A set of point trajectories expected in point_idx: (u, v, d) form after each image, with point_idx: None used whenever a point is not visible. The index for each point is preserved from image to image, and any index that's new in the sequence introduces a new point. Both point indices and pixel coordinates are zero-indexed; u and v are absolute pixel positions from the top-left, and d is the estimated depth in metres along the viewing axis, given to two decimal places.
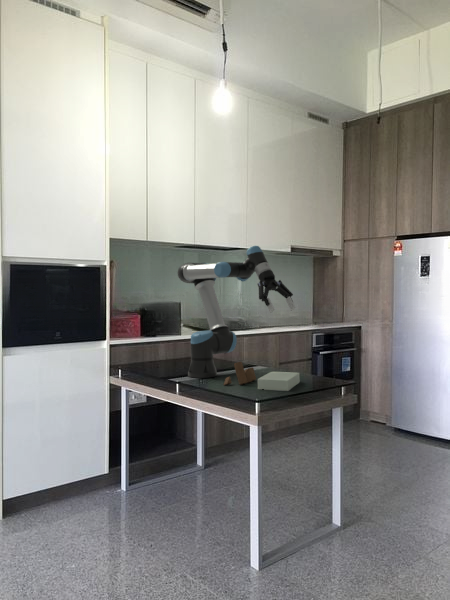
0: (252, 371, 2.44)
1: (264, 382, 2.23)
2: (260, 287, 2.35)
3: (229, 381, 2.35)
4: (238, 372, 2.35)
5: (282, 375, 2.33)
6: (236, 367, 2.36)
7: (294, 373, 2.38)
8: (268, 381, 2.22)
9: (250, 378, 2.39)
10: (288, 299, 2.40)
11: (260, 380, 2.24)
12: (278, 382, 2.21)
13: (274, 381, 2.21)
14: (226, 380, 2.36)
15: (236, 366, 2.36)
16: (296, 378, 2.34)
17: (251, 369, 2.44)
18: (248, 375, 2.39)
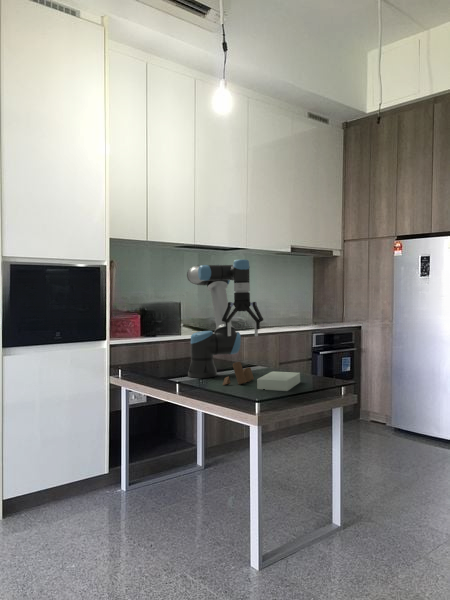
0: (250, 371, 2.45)
1: (263, 382, 2.23)
2: None
3: (228, 381, 2.35)
4: (237, 372, 2.36)
5: (282, 375, 2.32)
6: (235, 367, 2.36)
7: (294, 373, 2.37)
8: (267, 381, 2.22)
9: (248, 378, 2.40)
10: None
11: (260, 380, 2.24)
12: (278, 382, 2.21)
13: (273, 381, 2.21)
14: (225, 380, 2.36)
15: (235, 366, 2.36)
16: (296, 378, 2.33)
17: (249, 369, 2.45)
18: (246, 375, 2.40)
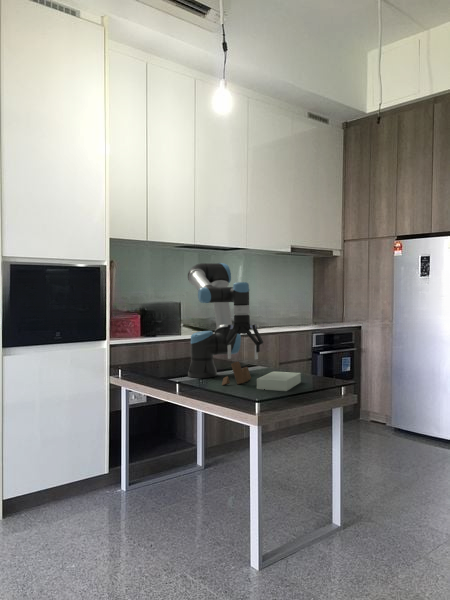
0: (247, 370, 2.46)
1: (263, 382, 2.23)
2: None
3: (228, 381, 2.35)
4: (236, 372, 2.36)
5: (282, 375, 2.32)
6: (234, 367, 2.37)
7: (295, 373, 2.37)
8: (267, 381, 2.23)
9: (247, 377, 2.41)
10: None
11: (259, 380, 2.24)
12: (277, 382, 2.21)
13: (273, 381, 2.21)
14: (224, 380, 2.36)
15: (234, 366, 2.37)
16: (296, 378, 2.33)
17: (246, 369, 2.46)
18: (245, 374, 2.41)
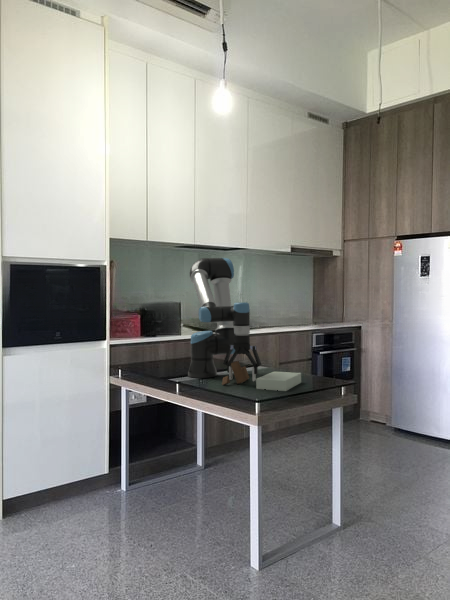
0: (245, 370, 2.47)
1: (262, 382, 2.24)
2: None
3: (228, 380, 2.35)
4: (236, 371, 2.36)
5: (282, 375, 2.32)
6: (234, 366, 2.37)
7: (295, 373, 2.37)
8: (266, 381, 2.23)
9: (246, 377, 2.42)
10: None
11: (259, 380, 2.24)
12: (276, 382, 2.21)
13: (272, 381, 2.22)
14: (224, 380, 2.36)
15: (234, 365, 2.37)
16: (296, 378, 2.33)
17: (244, 368, 2.47)
18: (244, 374, 2.42)
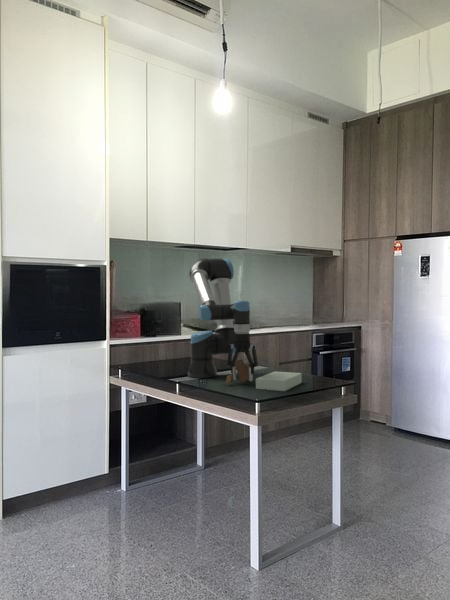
0: None
1: (262, 382, 2.24)
2: None
3: (232, 379, 2.34)
4: (240, 370, 2.36)
5: (282, 375, 2.32)
6: (238, 365, 2.37)
7: (295, 373, 2.37)
8: (266, 381, 2.23)
9: None
10: None
11: (258, 380, 2.25)
12: (276, 381, 2.21)
13: (271, 381, 2.22)
14: (228, 378, 2.35)
15: (238, 364, 2.37)
16: (297, 378, 2.33)
17: (248, 366, 2.47)
18: (247, 372, 2.41)
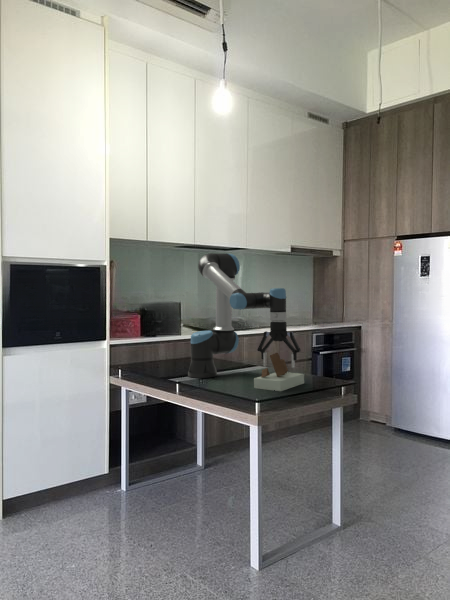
0: (284, 362, 2.40)
1: (259, 382, 2.25)
2: None
3: (267, 373, 2.28)
4: (276, 363, 2.29)
5: (283, 375, 2.32)
6: (273, 358, 2.30)
7: (297, 374, 2.35)
8: (263, 381, 2.24)
9: (285, 369, 2.34)
10: None
11: (256, 379, 2.26)
12: (272, 382, 2.21)
13: (268, 381, 2.22)
14: (264, 372, 2.28)
15: (273, 357, 2.30)
16: (297, 379, 2.31)
17: (283, 360, 2.40)
18: (283, 366, 2.34)
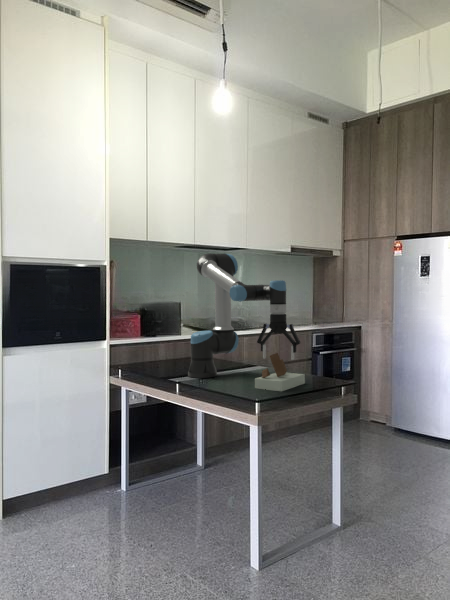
0: (283, 363, 2.40)
1: (260, 382, 2.25)
2: None
3: (268, 373, 2.27)
4: (276, 364, 2.29)
5: (283, 376, 2.32)
6: (273, 359, 2.29)
7: (298, 374, 2.35)
8: (264, 381, 2.24)
9: (284, 369, 2.34)
10: None
11: (257, 380, 2.26)
12: (273, 382, 2.21)
13: (269, 381, 2.22)
14: (264, 372, 2.28)
15: (273, 357, 2.29)
16: (298, 379, 2.31)
17: (282, 361, 2.40)
18: (283, 366, 2.34)
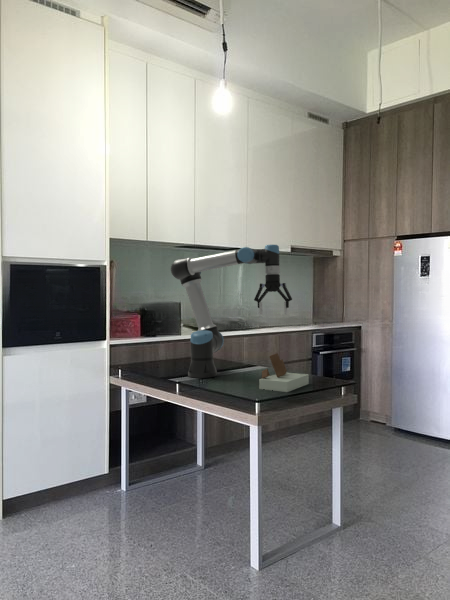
0: (283, 363, 2.38)
1: (265, 383, 2.23)
2: None
3: (268, 374, 2.26)
4: (276, 364, 2.27)
5: (288, 376, 2.30)
6: (273, 359, 2.28)
7: (302, 375, 2.34)
8: (269, 382, 2.22)
9: (284, 370, 2.33)
10: None
11: (261, 380, 2.24)
12: (278, 383, 2.19)
13: (274, 382, 2.20)
14: (264, 373, 2.27)
15: (273, 358, 2.28)
16: (302, 380, 2.30)
17: (281, 361, 2.38)
18: (282, 367, 2.33)
